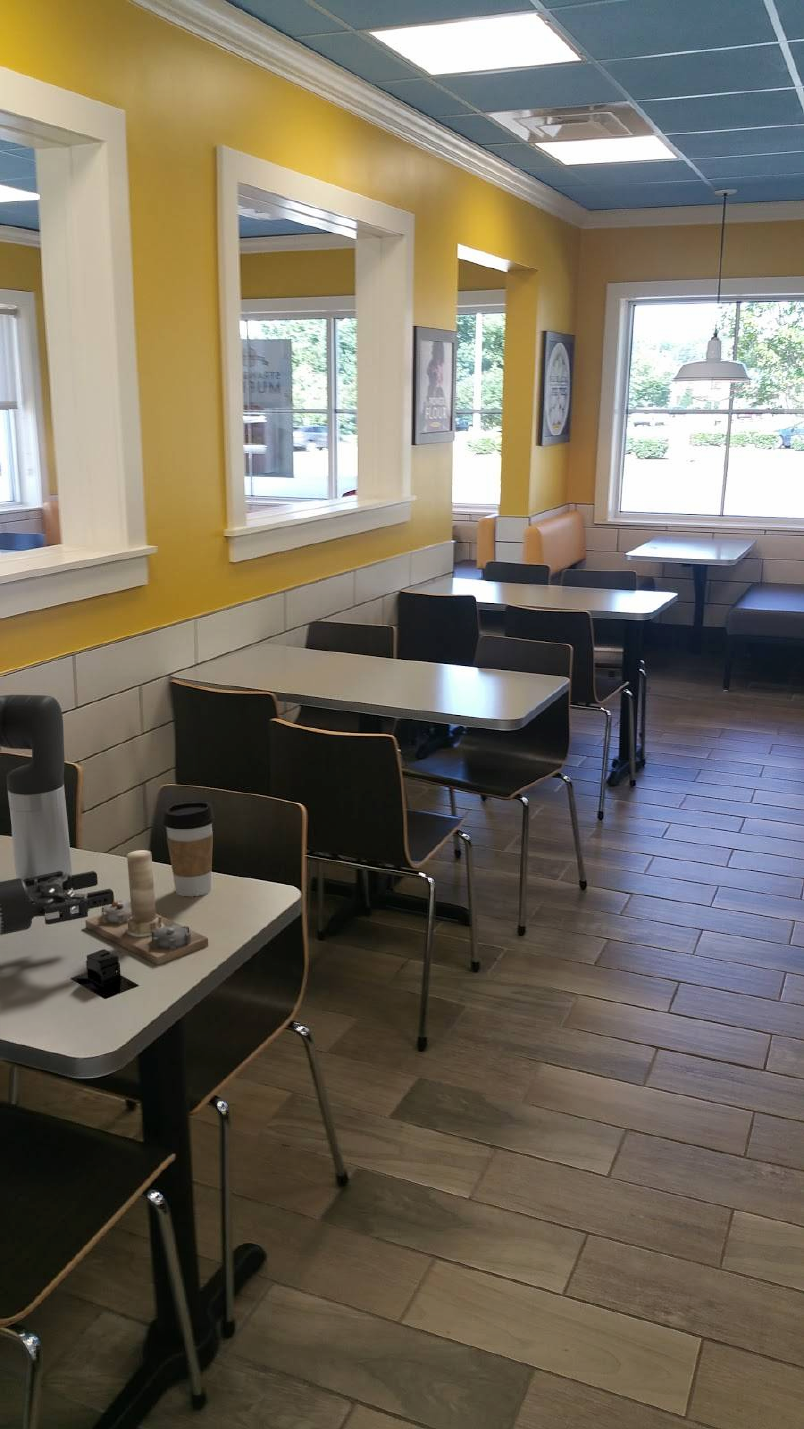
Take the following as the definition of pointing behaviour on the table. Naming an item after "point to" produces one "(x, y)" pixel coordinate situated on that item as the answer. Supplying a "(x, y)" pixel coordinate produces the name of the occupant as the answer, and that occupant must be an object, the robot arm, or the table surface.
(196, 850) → the coffee cup
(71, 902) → the robot arm
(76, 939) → the table surface
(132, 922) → the spindle gear
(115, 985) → the black block stand
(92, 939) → the table surface
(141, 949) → the gear board
